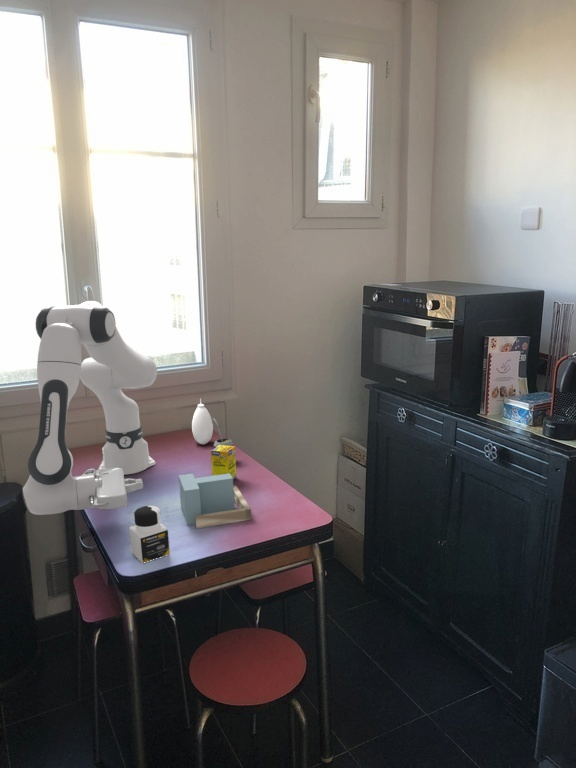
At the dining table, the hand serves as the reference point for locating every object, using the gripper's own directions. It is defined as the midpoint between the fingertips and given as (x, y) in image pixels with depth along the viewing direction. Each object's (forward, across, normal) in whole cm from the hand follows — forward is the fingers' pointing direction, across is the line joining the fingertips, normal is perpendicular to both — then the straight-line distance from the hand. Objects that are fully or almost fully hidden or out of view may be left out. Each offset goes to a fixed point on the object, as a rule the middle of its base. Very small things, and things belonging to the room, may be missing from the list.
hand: (142, 483), depth 169 cm
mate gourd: (+29, +38, +13) cm, 50 cm away
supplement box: (+26, +21, +12) cm, 36 cm away
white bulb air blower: (+26, +61, +13) cm, 68 cm away
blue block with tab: (+17, -1, +11) cm, 21 cm away
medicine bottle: (-1, -20, +11) cm, 23 cm away
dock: (+20, -1, +11) cm, 23 cm away
